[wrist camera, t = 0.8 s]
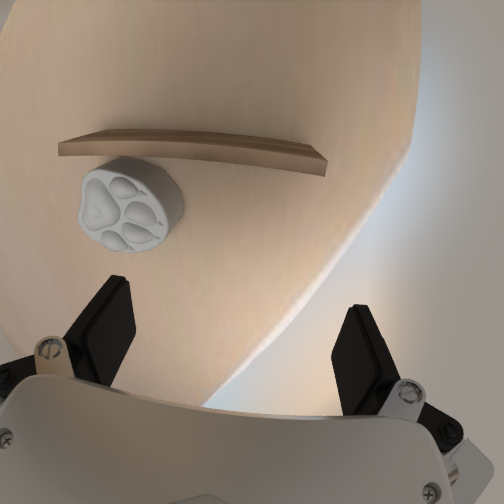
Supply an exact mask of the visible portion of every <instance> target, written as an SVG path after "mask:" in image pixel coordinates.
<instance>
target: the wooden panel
mask: <svg viewBox="0 0 504 504" xmlns="http://www.w3.org/2000/svg"><path fill="white" fill-rule="evenodd" d="M58 154H59V156H87V155H107V156H146V157H166V158H181V159H194V160H206V161H217V162H226V163H236V164H244V165H252V166H260V167H267V168H275V169H281V170H288V171H294V172H301V173H307V174H313V175H318V176H324V177H325V173H326V168H327V163H328V161H327V160H326V159H325V158H324V157H323V156H322V155H321V154H320V153H318V152H317V151H316V150H315V149H314V148H313V147H312V146H311V145H306V144H300V143H294V142H288V141H281V140H274V139H267V138H260V137H252V136H243V135H234V134H223V133H211V132H198V131H180V130H143V129H130V130H104V131H100V132H96V133H92V134H88V135H84V136H80V137H77V138H73V139H70V140H66V141H63V142H60V143H58Z"/></svg>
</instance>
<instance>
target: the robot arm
mask: <svg viewBox="0 0 504 504" xmlns="http://www.w3.org/2000/svg"><path fill="white" fill-rule="evenodd" d="M135 334H136V325H135V319H134V313H133V306H132V299H131V292H130V284H129V281H127V280H126V278H125V277H123V276H117V275H112V276H110V278H109V279H108V280H107V281H106V282H105V284H104V285H103V286H102V287H101V289H100V290H99V291H98V292H97V294H96V295H95V296H94V297H93V299H92V300H91V301H90V302H89V304H88V305H87V306H86V308H85V309H84V310H83V311H82V313H81V314H80V315H79V317H78V318H77V319H76V321H75V322H74V323H73V325H72V326H71V327H70V329H69V330H68V331H67V333H66V334H65V336H64V337H63V338H60V337H58V336H48V337H45V338H43V339H42V340H40V341H39V342H38V343H37V344H36V346H35V349H34V355H31V356H28V357H24V358H21V359H18V360H15V361H12V362H8V363H5V364H2V365H0V504H474V503H475V502H476V500H477V498H479V496H480V495H481V493H482V492H483V491H484V489H485V488H486V486H487V485H488V483H489V482H490V480H491V479H492V476H493V474H494V467H493V464H492V463H491V461H490V460H489V459H488V458H487V457H486V456H485V455H484V454H483V453H482V452H481V451H480V450H479V449H478V448H477V447H476V446H475V445H474V444H473V443H472V442H471V441H470V440H469V439H468V438H467V439H466V440H465V439H464V438H463V435H464V433H463V428H462V426H461V425H460V423H459V422H457V420H455V419H454V418H452V417H450V416H448V415H447V414H445V413H443V412H442V411H440V410H438V409H436V408H435V407H433V406H431V405H430V404H428V403H426V402H425V399H426V394H425V390H424V389H423V387H422V386H421V385H420V384H419V383H418V382H416V381H414V380H411V379H401V378H400V376H399V374H398V371H397V369H396V366H395V364H394V361H393V359H392V356H391V354H390V352H389V350H388V347H387V345H386V343H385V340H384V338H383V337H382V336H381V333H380V331H379V329H378V327H377V325H376V322H375V320H374V318H373V316H372V314H371V312H370V310H369V308H368V306H367V305H359V304H354V305H353V307H350V308H349V309H348V311H347V314H346V317H345V320H344V323H343V325H342V328H341V330H340V333H339V335H338V338H337V341H336V343H335V346H334V348H333V351H332V354H331V360H332V365H333V369H334V373H335V378H336V383H337V388H338V393H339V397H340V402H341V407H342V412H343V416H290V415H272V414H258V413H246V412H236V411H227V410H219V409H212V408H205V407H198V406H192V405H186V404H181V403H175V402H170V401H165V400H160V399H156V398H151V397H147V396H142V395H138V394H134V393H130V392H126V391H122V390H118V389H114V388H111V387H110V386H111V384H112V382H113V380H114V378H115V376H116V374H117V371H118V369H119V367H120V365H121V363H122V361H123V359H124V357H125V355H126V353H127V351H128V349H129V347H130V345H131V343H132V341H133V339H134V337H135Z"/></svg>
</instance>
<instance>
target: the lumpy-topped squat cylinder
mask: <svg viewBox="0 0 504 504" xmlns="http://www.w3.org/2000/svg"><path fill="white" fill-rule="evenodd" d="M81 193H82V197H81V204H80V208H79V212H78V222H79V225H80V227H81V228H82V230H83V231H84V232H85V233H86V235H87V236H89V237H90V238H91V239H93V240H95V241H97V242H99V243H101V244H102V245H104V247H106V248H107V249H109V250H111V251H114V252H118V251H121V252H124V253H138V252H144V251H148V250H151V249H153V248H155V247H157V246H158V245H160V244H161V243H162V242H163V241H164V240H165V239H166V237H167V236H168V235H169V233H170V232H171V230H172V229H173V228H174V226H175V225H176V223H177V222H178V221H179V219H180V218H181V216H182V214H183V211H184V201H183V197H182V194H181V192H180V190H179V188H178V186H177V185H176V183H175V182H174V181H173V180H172V178H171V177H170V176H169V175H168V174H167V173H166V172H165V171H164V170H163V169H161V168H160V167H158V166H155V165H153V164H151V163H148V162H145V161H142V160H138V159H133V158H129V157H120V158H117V159H115V160H112V161H110V162H108V163H106V164H104V165H101V166H99V167H97V168H95V169H93V170H91V171H90V172H88V173H87V174H86V175H85V176H84V178H83V181H82V187H81Z"/></svg>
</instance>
